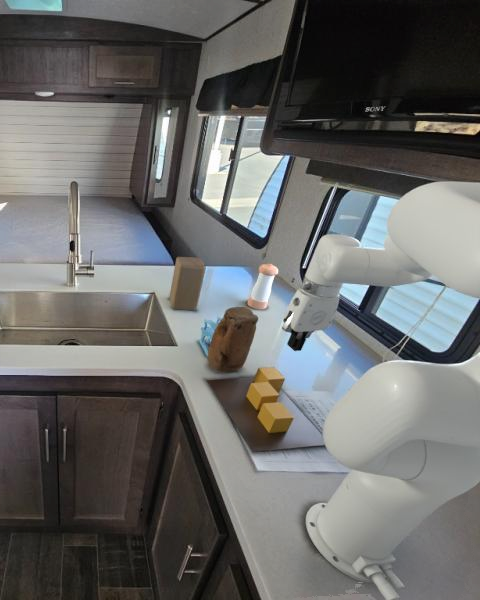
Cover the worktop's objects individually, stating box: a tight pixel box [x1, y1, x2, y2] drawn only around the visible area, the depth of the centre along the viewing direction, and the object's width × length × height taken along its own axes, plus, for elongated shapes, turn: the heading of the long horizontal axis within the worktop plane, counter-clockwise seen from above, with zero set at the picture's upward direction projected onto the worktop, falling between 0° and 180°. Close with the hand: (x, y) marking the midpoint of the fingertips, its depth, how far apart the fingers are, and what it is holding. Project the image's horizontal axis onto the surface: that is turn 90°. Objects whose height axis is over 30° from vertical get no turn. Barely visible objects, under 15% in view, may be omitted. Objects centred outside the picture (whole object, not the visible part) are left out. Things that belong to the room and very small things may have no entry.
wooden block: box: [168, 256, 207, 311], centre depth 131 cm, size 10×10×20 cm
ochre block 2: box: [246, 382, 279, 410], centre depth 87 cm, size 5×5×5 cm
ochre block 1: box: [254, 366, 286, 392], centre depth 93 cm, size 5×5×5 cm
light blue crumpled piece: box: [199, 316, 223, 357], centre depth 107 cm, size 8×8×12 cm
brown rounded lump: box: [207, 306, 259, 373], centre depth 97 cm, size 11×8×20 cm
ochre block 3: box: [258, 402, 294, 433], centre depth 81 cm, size 5×5×5 cm
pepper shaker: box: [246, 263, 279, 311], centre depth 132 cm, size 7×7×19 cm
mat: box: [206, 376, 326, 453], centre depth 87 cm, size 24×20×1 cm
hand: (293, 347), depth 86 cm, fingers closed
